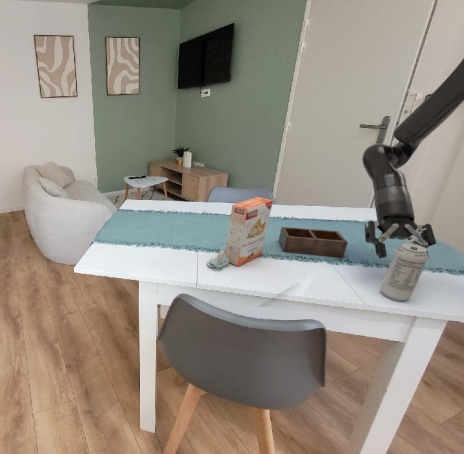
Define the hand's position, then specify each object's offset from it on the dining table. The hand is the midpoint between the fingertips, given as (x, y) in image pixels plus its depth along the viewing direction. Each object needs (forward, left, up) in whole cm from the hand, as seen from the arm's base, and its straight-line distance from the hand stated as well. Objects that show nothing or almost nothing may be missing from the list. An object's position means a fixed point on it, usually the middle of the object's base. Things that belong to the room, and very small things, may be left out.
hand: (402, 259), depth 78 cm
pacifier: (+44, +13, -11) cm, 47 cm away
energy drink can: (-1, +2, -11) cm, 11 cm away
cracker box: (+38, +3, -11) cm, 40 cm away
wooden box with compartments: (+21, -17, -10) cm, 29 cm away
